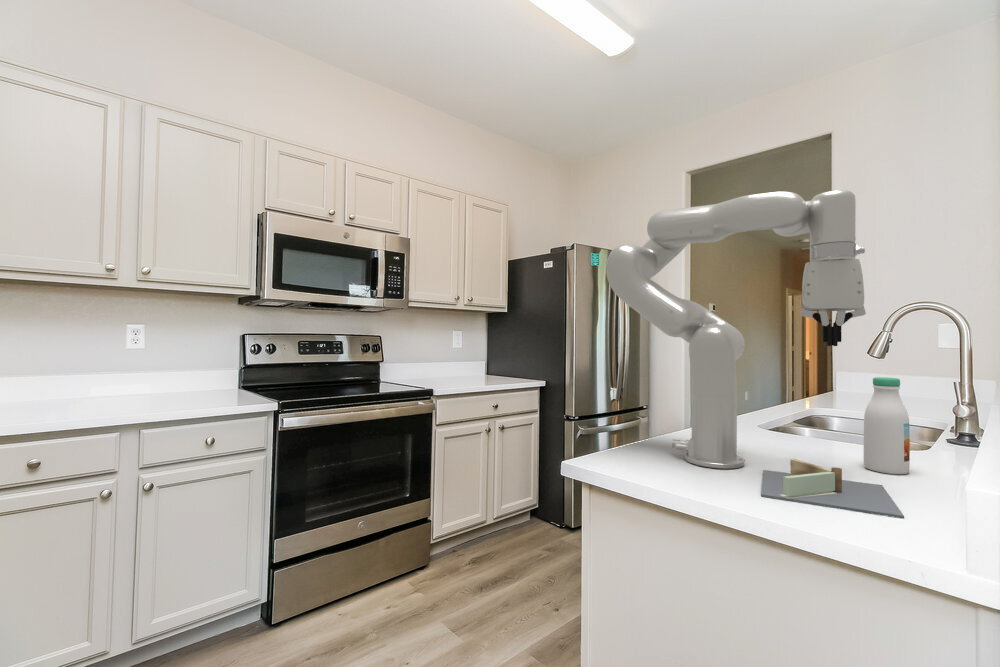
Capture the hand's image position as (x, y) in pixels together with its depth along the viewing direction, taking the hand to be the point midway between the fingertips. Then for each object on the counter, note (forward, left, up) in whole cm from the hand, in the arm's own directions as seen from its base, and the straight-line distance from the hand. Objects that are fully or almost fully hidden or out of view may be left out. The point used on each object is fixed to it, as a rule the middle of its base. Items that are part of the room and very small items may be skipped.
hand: (831, 345), depth 95 cm
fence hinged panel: (-4, -14, -26) cm, 30 cm away
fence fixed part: (-3, -6, -27) cm, 28 cm away
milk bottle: (+11, +15, -27) cm, 33 cm away
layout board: (-2, -9, -27) cm, 29 cm away
